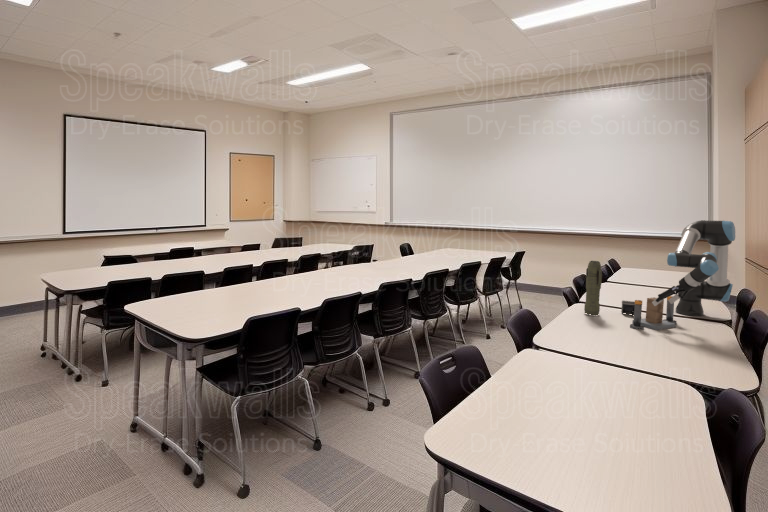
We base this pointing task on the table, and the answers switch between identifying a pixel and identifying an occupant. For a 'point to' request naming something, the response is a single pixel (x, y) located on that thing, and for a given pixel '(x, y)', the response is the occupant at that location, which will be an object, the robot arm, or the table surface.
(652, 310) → the block
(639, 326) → the post
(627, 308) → the electrical switch
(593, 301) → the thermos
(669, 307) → the post
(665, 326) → the plate
